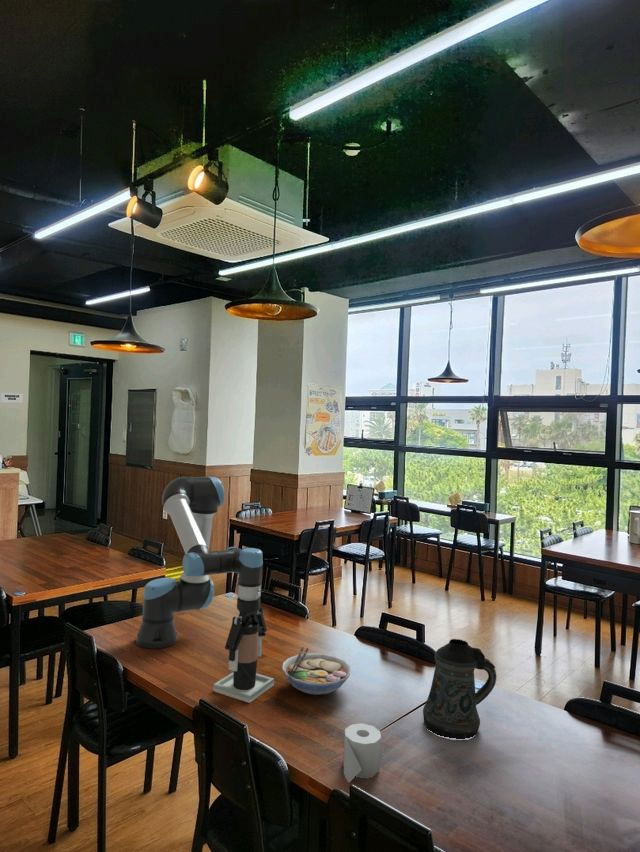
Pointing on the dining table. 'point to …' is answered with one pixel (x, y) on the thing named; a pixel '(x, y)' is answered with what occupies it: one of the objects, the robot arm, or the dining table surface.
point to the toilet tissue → (361, 751)
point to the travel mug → (247, 659)
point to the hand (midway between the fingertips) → (245, 662)
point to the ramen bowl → (316, 672)
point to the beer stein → (457, 690)
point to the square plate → (249, 695)
